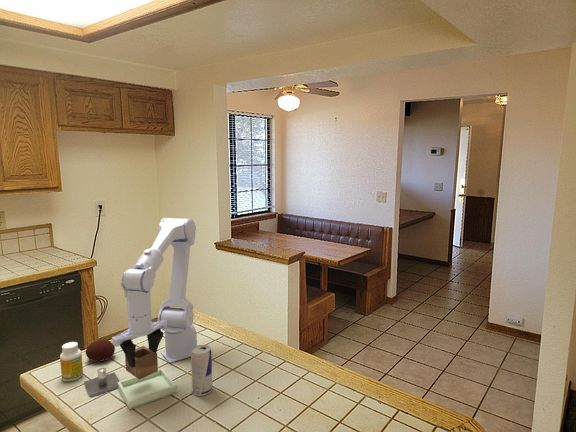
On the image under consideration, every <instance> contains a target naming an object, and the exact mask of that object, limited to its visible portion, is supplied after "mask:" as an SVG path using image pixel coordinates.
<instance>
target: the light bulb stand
mask: <svg viewBox="0 0 576 432" xmlns="http://www.w3.org/2000/svg"><path fill="white" fill-rule="evenodd" d="M118 382H120V379H119V377H118V376H117V374H116V372H111V373H109V374H107V367H100V368H99V369H97V377H95V378H92V379H88V380H85V381H83V384H84V388H85V389H86V391H87V394H88V396H89V398H93V397H96V396H99V395H101V394H105V393H107V392H111V391H113V390H118Z"/></svg>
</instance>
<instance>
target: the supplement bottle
mask: <svg viewBox="0 0 576 432" xmlns="http://www.w3.org/2000/svg"><path fill="white" fill-rule="evenodd" d="M59 355H60V356H59V361H60V362H59V363H60V372H61V380H62V381H63V382H72V381H76V380H78V379H80V378H81V377H82V376H83V375H84V374H83V373H84V369H83V356H82V350H80V348H79V344H78V342H77V341H70V342H66V343H64V344H63V345H62V346H61V353H60V354H59Z"/></svg>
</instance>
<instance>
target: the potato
mask: <svg viewBox="0 0 576 432" xmlns="http://www.w3.org/2000/svg"><path fill="white" fill-rule="evenodd" d="M115 351H116V346H114V345H113V344H112V341H111V340H107V339H98V340H95V341H93V342H92V343H90V344H89V345H87V347H86V348H85V351H84V353H85V355H86V357H87V359H89V360H90V361H93V362H103V361H107V360H109V359H110V358H112V356H113V355H114V354H115Z"/></svg>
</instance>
